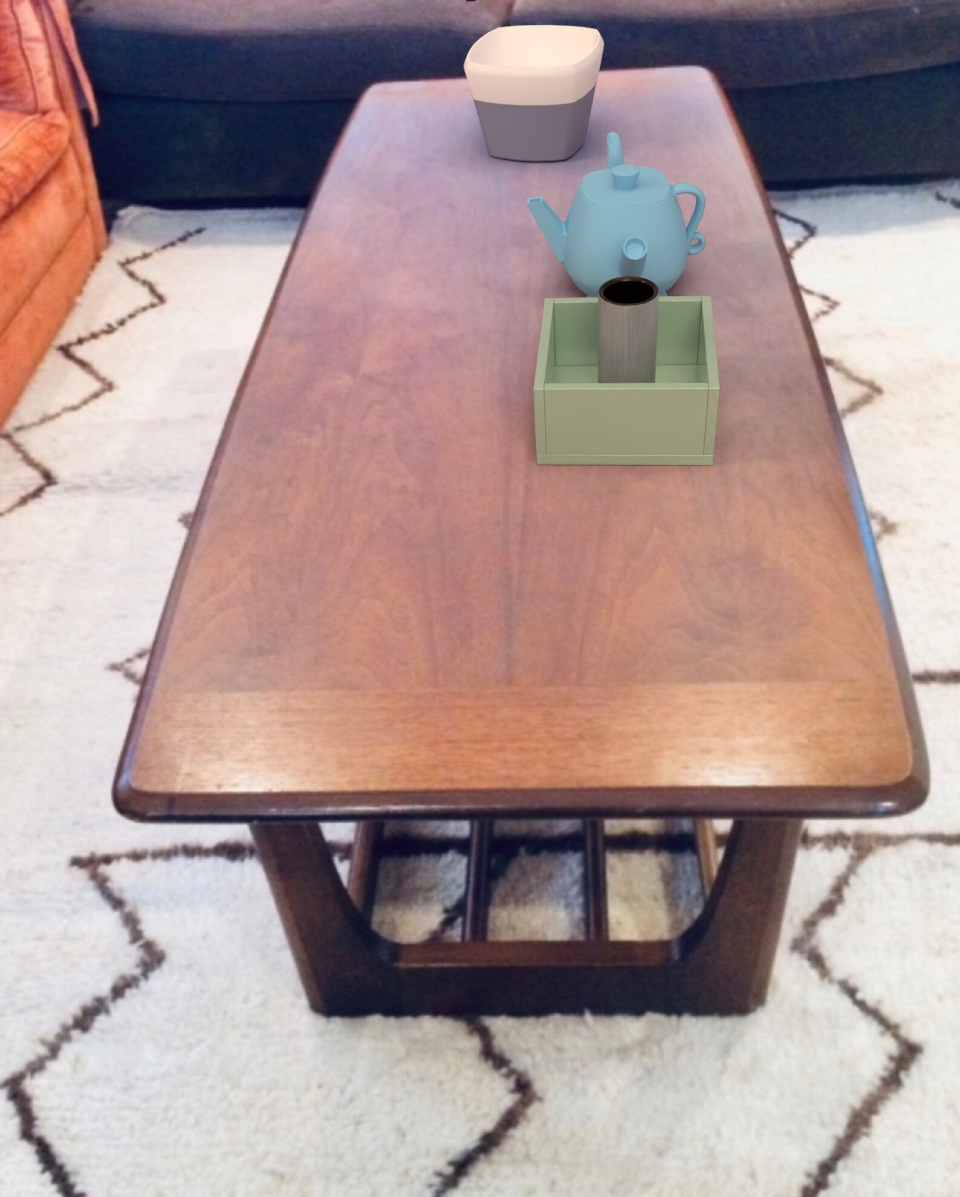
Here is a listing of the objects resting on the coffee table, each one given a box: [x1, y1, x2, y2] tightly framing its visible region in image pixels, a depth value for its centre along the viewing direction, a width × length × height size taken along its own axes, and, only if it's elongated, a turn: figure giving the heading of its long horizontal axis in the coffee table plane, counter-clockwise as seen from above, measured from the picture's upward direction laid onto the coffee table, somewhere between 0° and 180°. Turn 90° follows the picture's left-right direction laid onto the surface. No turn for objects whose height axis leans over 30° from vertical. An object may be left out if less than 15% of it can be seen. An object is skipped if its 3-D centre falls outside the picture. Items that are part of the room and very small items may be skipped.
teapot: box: [526, 131, 707, 298], centre depth 102 cm, size 15×14×11 cm
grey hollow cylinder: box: [598, 276, 659, 383], centre depth 86 cm, size 4×4×10 cm
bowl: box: [463, 24, 605, 162], centre depth 128 cm, size 15×15×11 cm
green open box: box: [532, 295, 721, 466], centre depth 88 cm, size 14×14×7 cm
